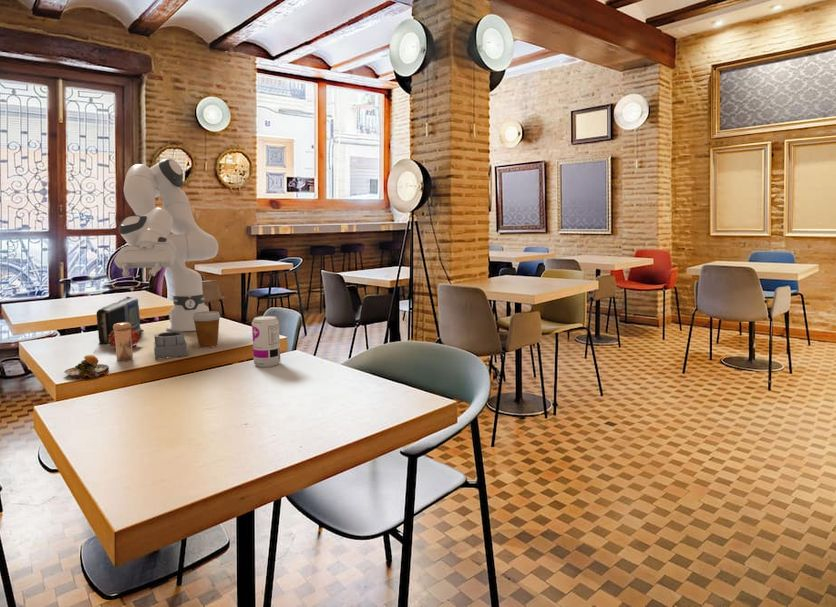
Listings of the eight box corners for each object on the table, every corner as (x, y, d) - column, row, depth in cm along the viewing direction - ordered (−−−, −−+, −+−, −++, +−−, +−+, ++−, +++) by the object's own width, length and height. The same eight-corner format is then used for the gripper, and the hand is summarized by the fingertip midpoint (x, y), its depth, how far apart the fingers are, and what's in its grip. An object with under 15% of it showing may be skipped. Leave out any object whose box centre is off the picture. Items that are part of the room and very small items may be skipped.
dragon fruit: (105, 355, 207) (139, 354, 216) (115, 344, 203) (149, 343, 212) (100, 334, 210) (134, 333, 219) (110, 322, 205) (144, 322, 215)
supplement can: (256, 368, 183) (253, 321, 180) (252, 362, 190) (249, 316, 188) (282, 366, 186) (280, 319, 183) (277, 360, 193) (275, 314, 191)
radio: (107, 346, 215) (103, 305, 213) (87, 345, 217) (83, 305, 214) (148, 333, 238) (145, 296, 235) (129, 332, 239) (126, 295, 237)
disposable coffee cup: (226, 343, 218) (224, 311, 216) (215, 349, 209) (213, 315, 207) (201, 342, 219) (199, 310, 217) (189, 348, 210) (187, 315, 208)
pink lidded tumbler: (116, 358, 196) (112, 323, 194) (134, 357, 198) (131, 321, 196) (115, 362, 191) (112, 326, 189) (134, 360, 193) (131, 324, 192)
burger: (80, 369, 184) (77, 346, 183) (117, 369, 184) (115, 346, 183) (55, 380, 172) (52, 355, 171) (95, 380, 172) (93, 355, 171)
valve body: (187, 356, 199) (186, 335, 198) (155, 359, 195) (153, 338, 194) (184, 346, 213) (182, 327, 212) (153, 349, 209) (152, 330, 208)
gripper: (118, 240, 209) (104, 269, 201) (174, 238, 208) (162, 268, 199) (126, 251, 214) (113, 281, 206) (181, 250, 213) (170, 280, 204)
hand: (138, 275), depth 203 cm, fingers open, 8 cm apart
